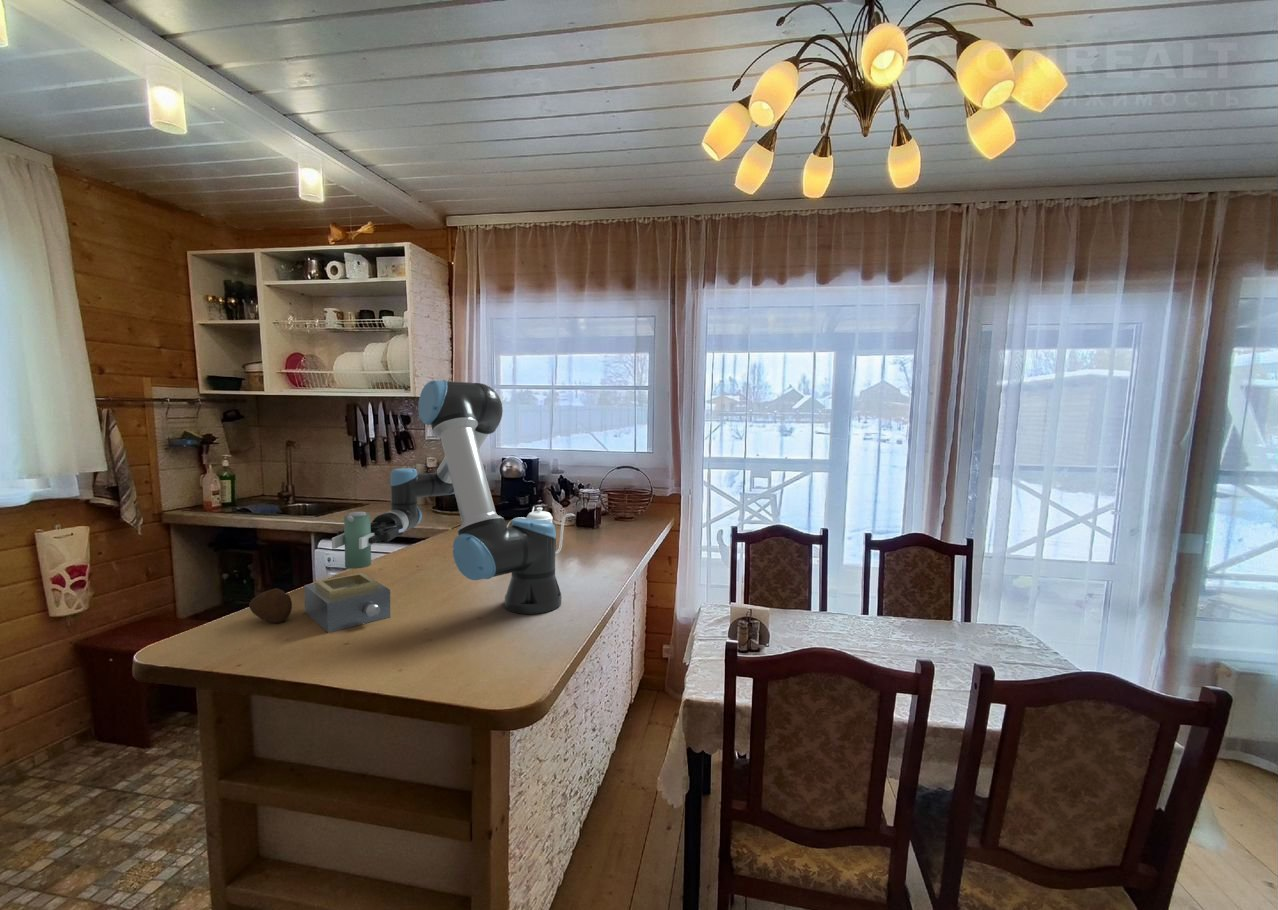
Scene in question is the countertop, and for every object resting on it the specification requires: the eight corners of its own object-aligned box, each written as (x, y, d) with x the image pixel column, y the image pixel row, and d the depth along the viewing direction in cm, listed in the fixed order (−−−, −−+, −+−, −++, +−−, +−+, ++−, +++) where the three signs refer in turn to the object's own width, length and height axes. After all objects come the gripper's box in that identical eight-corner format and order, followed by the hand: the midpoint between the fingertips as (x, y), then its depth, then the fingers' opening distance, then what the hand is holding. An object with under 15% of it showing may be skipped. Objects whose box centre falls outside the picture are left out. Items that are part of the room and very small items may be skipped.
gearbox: (395, 620, 128) (394, 586, 128) (332, 636, 118) (331, 600, 117) (363, 599, 142) (363, 568, 142) (305, 612, 132) (304, 579, 132)
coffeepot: (571, 565, 179) (572, 511, 178) (501, 562, 181) (501, 508, 180) (578, 557, 190) (578, 506, 188) (511, 554, 192) (511, 503, 191)
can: (352, 562, 138) (351, 510, 137) (375, 562, 138) (374, 511, 138) (337, 569, 131) (336, 515, 130) (361, 570, 131) (360, 516, 130)
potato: (277, 628, 122) (276, 595, 121) (242, 624, 124) (240, 592, 123) (303, 617, 129) (302, 585, 129) (269, 613, 131) (268, 582, 130)
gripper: (422, 538, 153) (385, 558, 130) (357, 536, 153) (308, 557, 130) (422, 512, 153) (384, 529, 130) (357, 511, 152) (308, 528, 129)
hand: (346, 543), depth 130 cm, fingers closed on can, 6 cm apart
